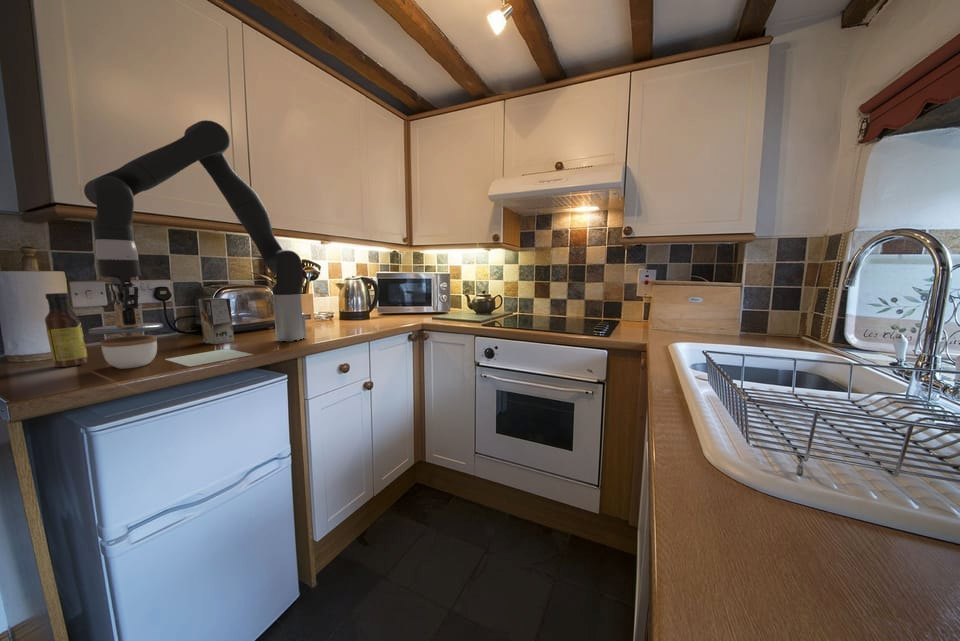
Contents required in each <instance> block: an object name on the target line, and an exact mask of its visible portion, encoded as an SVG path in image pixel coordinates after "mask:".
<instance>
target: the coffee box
mask: <svg viewBox="0 0 960 641" xmlns="http://www.w3.org/2000/svg"><path fill="white" fill-rule="evenodd" d="M198 307H199V314H200V322H201V330H202V331H201V332H202V338H203V339H202V340H203V341H202V342H203V343H204V342H205V343H204V344H209V343H210V344H211V345H213V344H214V345H219V344H226V343H231V342H235V336H234V328H233V327H234V326H233V317H232V307H231V299H230V298H226V297H224V298H223V297H209V298H207V297H206V298H199V299H198Z"/></svg>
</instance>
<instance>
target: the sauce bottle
mask: <svg viewBox="0 0 960 641" xmlns="http://www.w3.org/2000/svg"><path fill="white" fill-rule="evenodd" d="M70 298H71V297H70V294H69V292H52V293H45V299H46V300H47V304H48V309H49V311H48V313H47V315H46V316H45V318H44V322H45V327H46V330H45V331H46V335H47V339H48V344H49V348H50V349H49V350H50V354H51V358H52V362H53V366H54V367H57V368H69V367H75V366H80V365H83V364H84V365H85V364H87V363H88V351H87V347H86V342H85V341H86V340H85V337H84V332H83V327H82V323H81V322H82V321H81V320H80V319H79V317H78V316H77V314H76V313H75V312H74V310H73V309H72V307H71V303H70Z"/></svg>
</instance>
